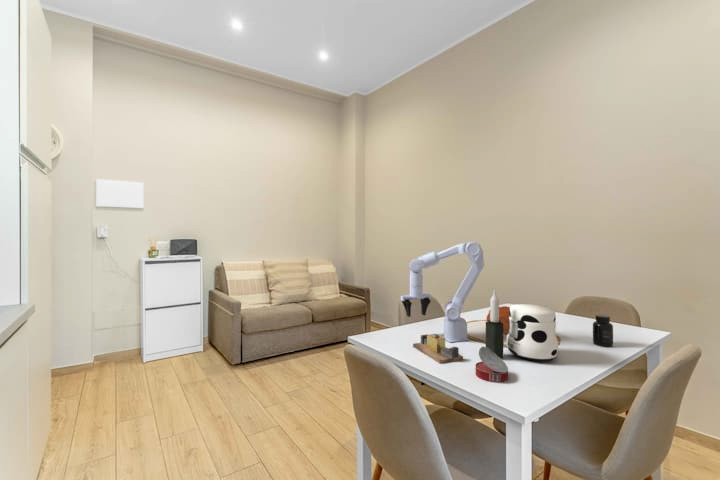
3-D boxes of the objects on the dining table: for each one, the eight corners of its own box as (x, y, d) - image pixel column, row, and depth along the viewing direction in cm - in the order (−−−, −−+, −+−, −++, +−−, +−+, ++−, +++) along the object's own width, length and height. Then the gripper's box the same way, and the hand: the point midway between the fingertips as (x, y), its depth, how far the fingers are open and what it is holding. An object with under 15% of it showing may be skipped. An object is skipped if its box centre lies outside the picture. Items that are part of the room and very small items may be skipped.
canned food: (493, 384, 111) (506, 357, 112) (508, 395, 101) (521, 365, 102) (464, 368, 111) (476, 341, 112) (475, 378, 101) (489, 348, 102)
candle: (495, 360, 120) (495, 291, 120) (484, 355, 124) (484, 289, 124) (504, 357, 122) (505, 290, 122) (493, 353, 127) (493, 288, 126)
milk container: (563, 355, 125) (564, 308, 124) (550, 368, 112) (550, 316, 112) (516, 344, 137) (516, 301, 136) (499, 355, 124) (499, 308, 124)
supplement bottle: (614, 344, 137) (614, 315, 137) (612, 348, 132) (612, 319, 132) (594, 341, 142) (594, 313, 141) (591, 344, 137) (591, 316, 136)
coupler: (445, 351, 126) (445, 336, 126) (437, 352, 124) (437, 337, 124) (434, 346, 131) (434, 332, 131) (426, 347, 130) (426, 333, 130)
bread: (508, 324, 169) (508, 303, 169) (554, 340, 143) (554, 316, 143) (483, 327, 164) (483, 306, 163) (526, 344, 138) (526, 319, 138)
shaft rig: (434, 343, 138) (434, 333, 138) (463, 359, 120) (463, 347, 120) (413, 346, 135) (413, 335, 135) (439, 363, 117) (439, 351, 117)
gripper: (425, 283, 154) (425, 312, 154) (397, 285, 149) (397, 314, 149) (433, 285, 148) (433, 315, 148) (405, 287, 142) (404, 318, 143)
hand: (416, 315), depth 148 cm, fingers open, 7 cm apart
